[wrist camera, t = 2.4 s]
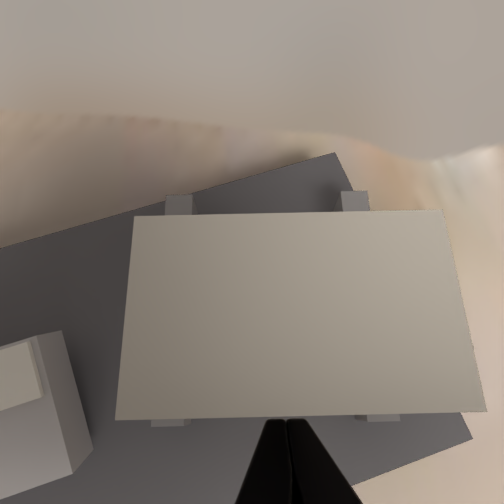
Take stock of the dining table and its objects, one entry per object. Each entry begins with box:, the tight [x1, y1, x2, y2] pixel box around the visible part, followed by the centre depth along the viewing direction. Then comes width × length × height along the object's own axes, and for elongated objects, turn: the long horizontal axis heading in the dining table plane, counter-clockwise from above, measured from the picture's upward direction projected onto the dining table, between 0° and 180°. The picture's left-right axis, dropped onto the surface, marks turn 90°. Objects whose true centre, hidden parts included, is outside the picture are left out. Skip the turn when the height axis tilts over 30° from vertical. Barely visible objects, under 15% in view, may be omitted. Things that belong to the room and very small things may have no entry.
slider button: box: [115, 209, 487, 420], centre depth 10 cm, size 3×5×8 cm, turn 91°
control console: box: [0, 152, 473, 504], centre depth 14 cm, size 12×29×4 cm, turn 108°
